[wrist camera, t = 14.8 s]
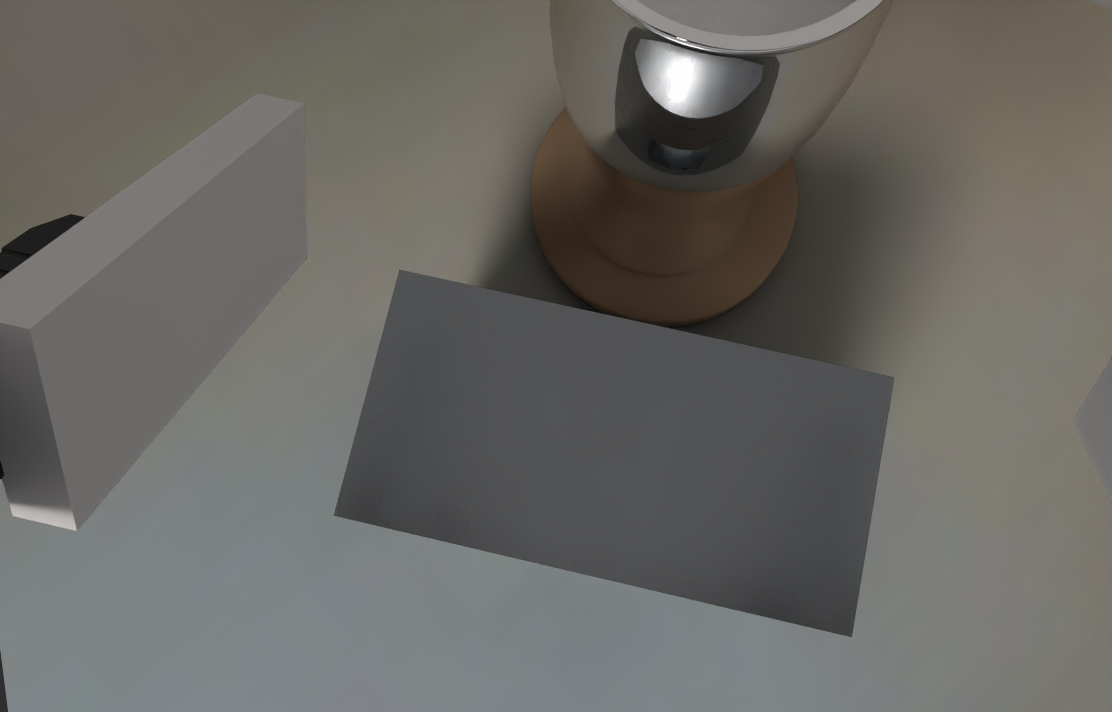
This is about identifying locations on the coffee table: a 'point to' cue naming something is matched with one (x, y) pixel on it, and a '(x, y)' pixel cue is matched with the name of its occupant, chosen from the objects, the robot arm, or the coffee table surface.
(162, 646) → the coffee table surface
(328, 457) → the coffee table surface
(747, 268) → the walnut coaster
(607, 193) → the beer glass
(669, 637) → the coffee table surface
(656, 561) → the grey block with hole
